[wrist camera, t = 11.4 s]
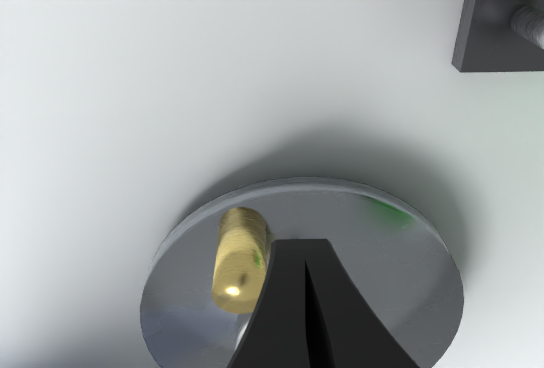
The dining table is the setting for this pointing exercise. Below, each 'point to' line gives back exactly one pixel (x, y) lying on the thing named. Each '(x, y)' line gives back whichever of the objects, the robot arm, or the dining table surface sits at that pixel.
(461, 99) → the dining table surface
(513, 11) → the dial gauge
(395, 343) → the robot arm
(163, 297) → the turntable
